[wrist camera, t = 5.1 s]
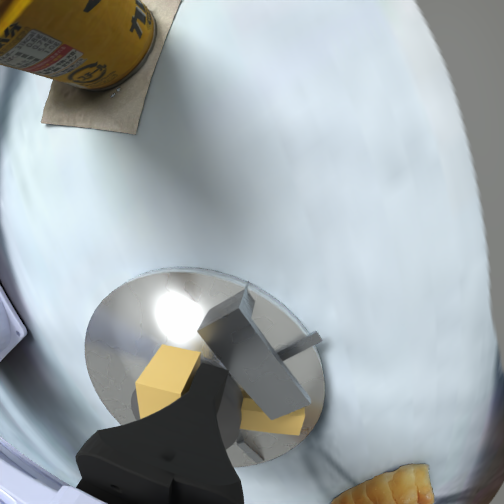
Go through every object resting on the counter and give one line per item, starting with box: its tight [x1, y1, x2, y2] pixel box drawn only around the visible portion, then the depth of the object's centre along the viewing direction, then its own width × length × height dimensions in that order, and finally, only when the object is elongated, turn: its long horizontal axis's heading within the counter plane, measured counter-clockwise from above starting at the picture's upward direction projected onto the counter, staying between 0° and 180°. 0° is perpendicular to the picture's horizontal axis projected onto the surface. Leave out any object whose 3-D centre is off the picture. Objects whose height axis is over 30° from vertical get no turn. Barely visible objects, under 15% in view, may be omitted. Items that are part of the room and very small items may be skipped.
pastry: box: [331, 464, 434, 504], centre depth 17 cm, size 9×7×4 cm
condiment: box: [0, 0, 181, 135], centre depth 8 cm, size 7×8×12 cm
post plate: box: [85, 267, 325, 467], centre depth 16 cm, size 16×15×3 cm
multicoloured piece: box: [131, 344, 305, 449], centre depth 13 cm, size 8×9×5 cm
